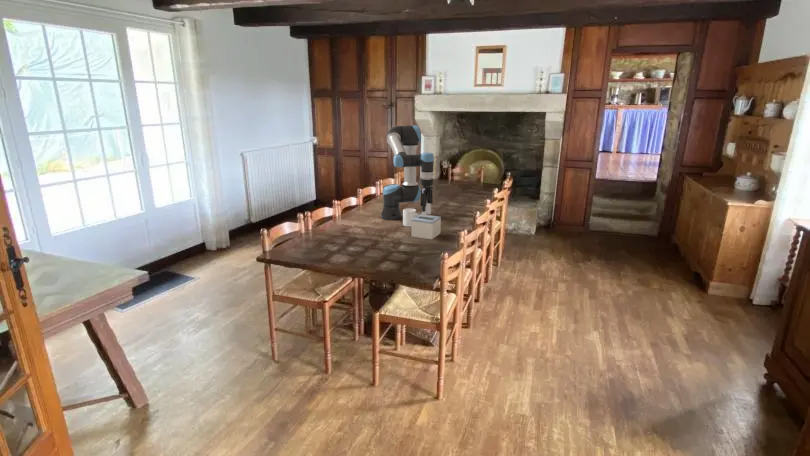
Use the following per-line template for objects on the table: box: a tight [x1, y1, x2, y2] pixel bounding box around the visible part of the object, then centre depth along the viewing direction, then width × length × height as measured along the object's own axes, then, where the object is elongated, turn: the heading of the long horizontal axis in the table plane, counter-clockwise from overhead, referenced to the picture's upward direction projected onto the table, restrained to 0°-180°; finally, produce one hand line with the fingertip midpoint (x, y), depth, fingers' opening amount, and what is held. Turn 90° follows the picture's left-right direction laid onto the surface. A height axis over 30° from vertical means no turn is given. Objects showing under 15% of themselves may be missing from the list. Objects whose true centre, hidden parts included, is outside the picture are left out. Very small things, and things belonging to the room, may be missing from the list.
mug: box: [402, 208, 419, 228], centre depth 291 cm, size 9×12×11 cm
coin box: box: [410, 213, 442, 240], centre depth 271 cm, size 14×14×11 cm
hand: (426, 215), depth 269 cm, fingers open, 7 cm apart
